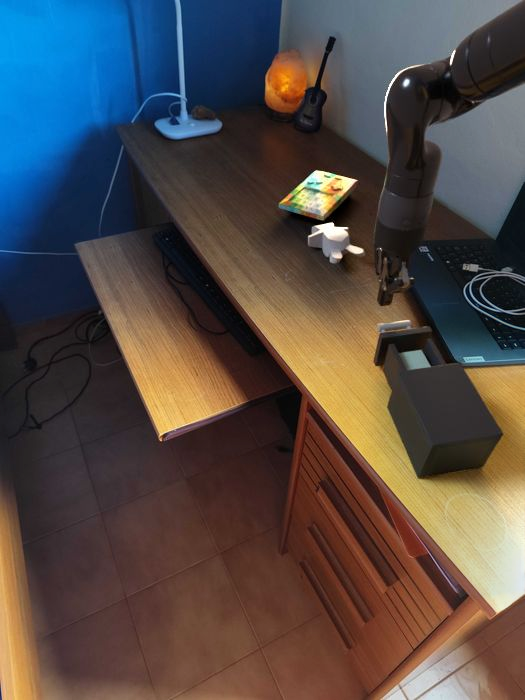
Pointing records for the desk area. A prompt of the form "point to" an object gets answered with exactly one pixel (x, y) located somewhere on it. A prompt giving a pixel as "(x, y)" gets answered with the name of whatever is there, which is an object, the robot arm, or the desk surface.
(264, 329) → the desk surface
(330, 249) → the bunny figurine
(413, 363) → the block
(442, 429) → the dark box
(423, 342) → the drawer
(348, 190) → the puzzle game
